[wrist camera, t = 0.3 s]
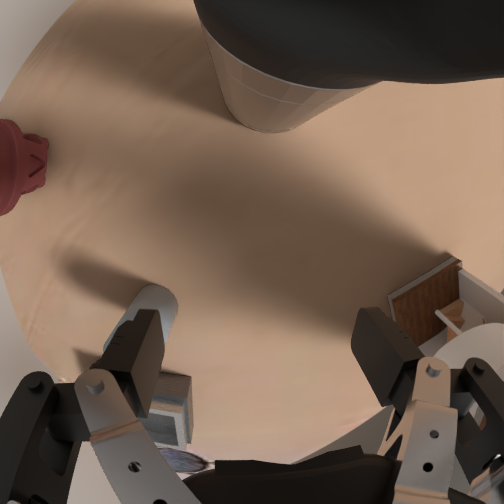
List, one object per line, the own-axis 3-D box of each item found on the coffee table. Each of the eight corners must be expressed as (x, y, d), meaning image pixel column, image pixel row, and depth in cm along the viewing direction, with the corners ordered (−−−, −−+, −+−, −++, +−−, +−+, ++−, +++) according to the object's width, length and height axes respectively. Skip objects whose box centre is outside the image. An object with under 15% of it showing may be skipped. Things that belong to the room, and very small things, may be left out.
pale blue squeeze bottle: (135, 282, 29) (89, 344, 18) (178, 287, 30) (147, 357, 18) (138, 319, 31) (101, 387, 19) (178, 324, 31) (153, 399, 20)
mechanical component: (61, 206, 26) (11, 199, 25) (70, 120, 23) (17, 124, 22) (-12, 236, 14) (-55, 223, 13) (-7, 112, 11) (-52, 125, 10)
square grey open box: (95, 358, 33) (79, 385, 27) (191, 376, 34) (185, 409, 28) (111, 408, 37) (101, 434, 31) (193, 424, 38) (189, 453, 32)
